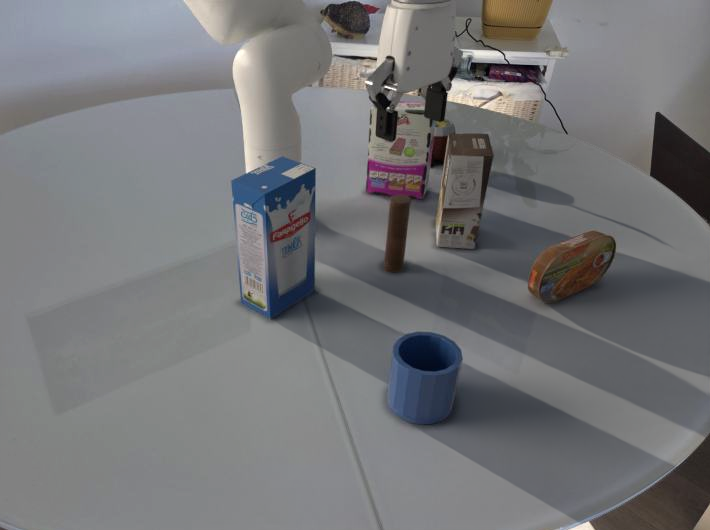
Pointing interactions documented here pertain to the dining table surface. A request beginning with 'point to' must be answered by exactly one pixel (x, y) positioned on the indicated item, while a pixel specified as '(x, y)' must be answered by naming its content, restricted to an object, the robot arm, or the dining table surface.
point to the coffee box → (463, 189)
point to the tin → (571, 266)
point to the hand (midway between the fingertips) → (410, 128)
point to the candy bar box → (401, 154)
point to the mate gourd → (440, 138)
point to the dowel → (397, 232)
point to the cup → (423, 377)
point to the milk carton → (275, 234)
